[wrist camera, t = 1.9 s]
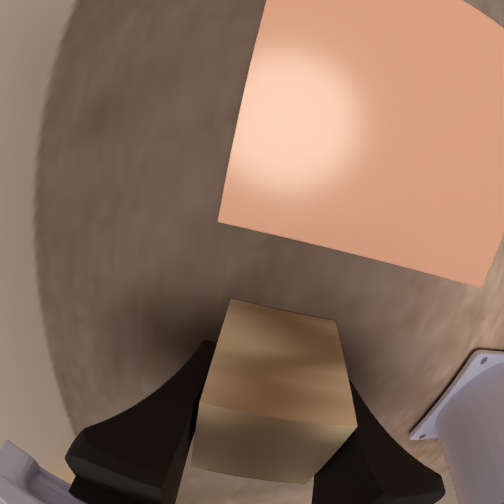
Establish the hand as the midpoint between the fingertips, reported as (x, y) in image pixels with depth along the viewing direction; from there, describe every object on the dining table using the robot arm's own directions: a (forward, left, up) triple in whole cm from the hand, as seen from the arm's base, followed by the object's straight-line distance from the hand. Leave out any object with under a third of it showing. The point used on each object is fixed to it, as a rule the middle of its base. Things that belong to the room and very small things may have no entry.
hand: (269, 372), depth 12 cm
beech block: (0, 0, -1) cm, 1 cm away
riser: (-2, -11, -1) cm, 11 cm away
